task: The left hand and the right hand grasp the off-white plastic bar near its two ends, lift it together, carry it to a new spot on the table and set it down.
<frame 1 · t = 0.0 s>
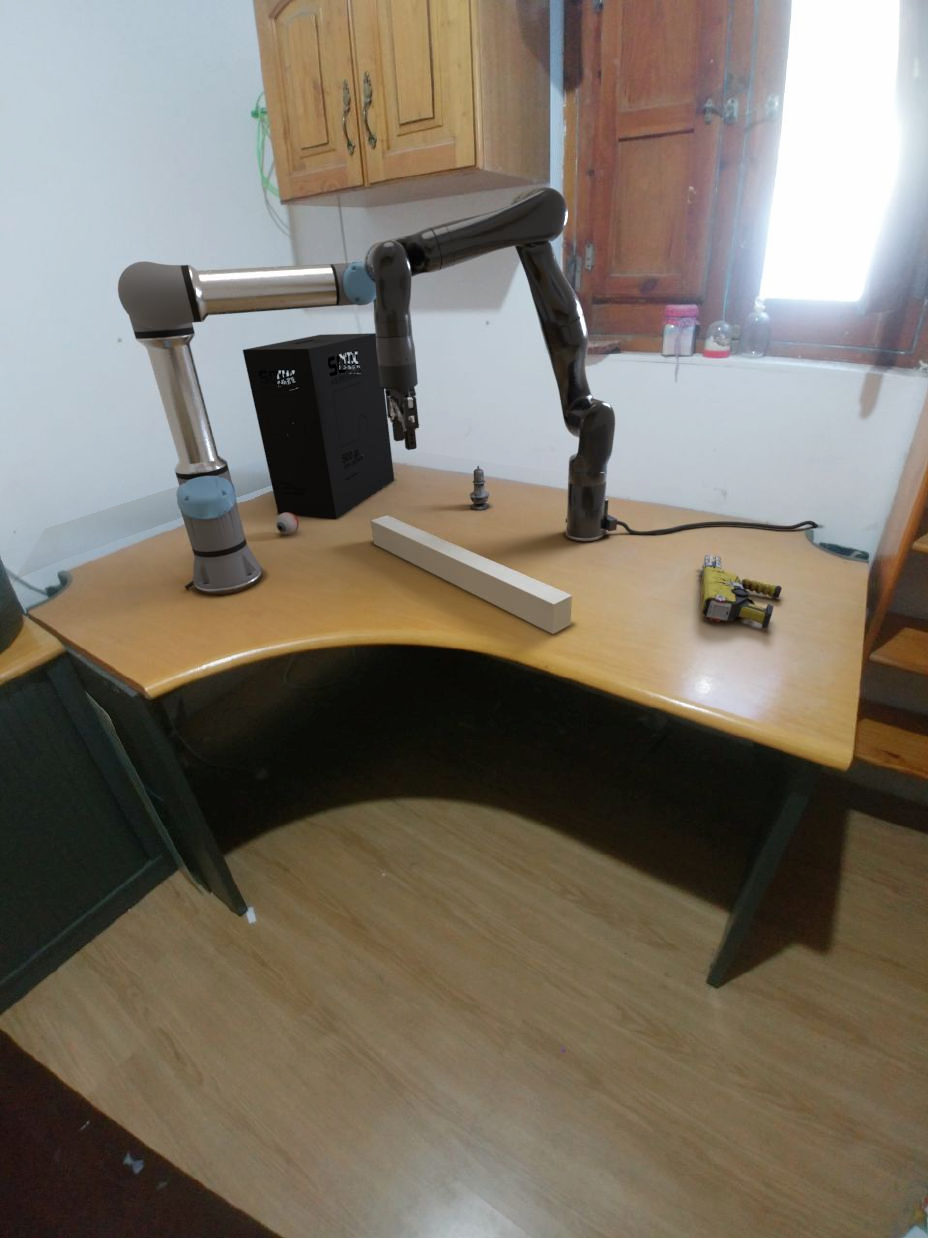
left hand: (401, 421, 153), 28 cm above the table, tool pointing down, fingers open, 13 cm apart
right hand: (405, 444, 126), 29 cm above the table, tool pointing down, fingers open, 8 cm apart
salt shaker: (479, 506, 177), on the table
bar: (457, 578, 136), on the table
cardboard box: (339, 496, 192), on the table
eyeball: (289, 534, 165), on the table
toy gun: (739, 600, 121), on the table
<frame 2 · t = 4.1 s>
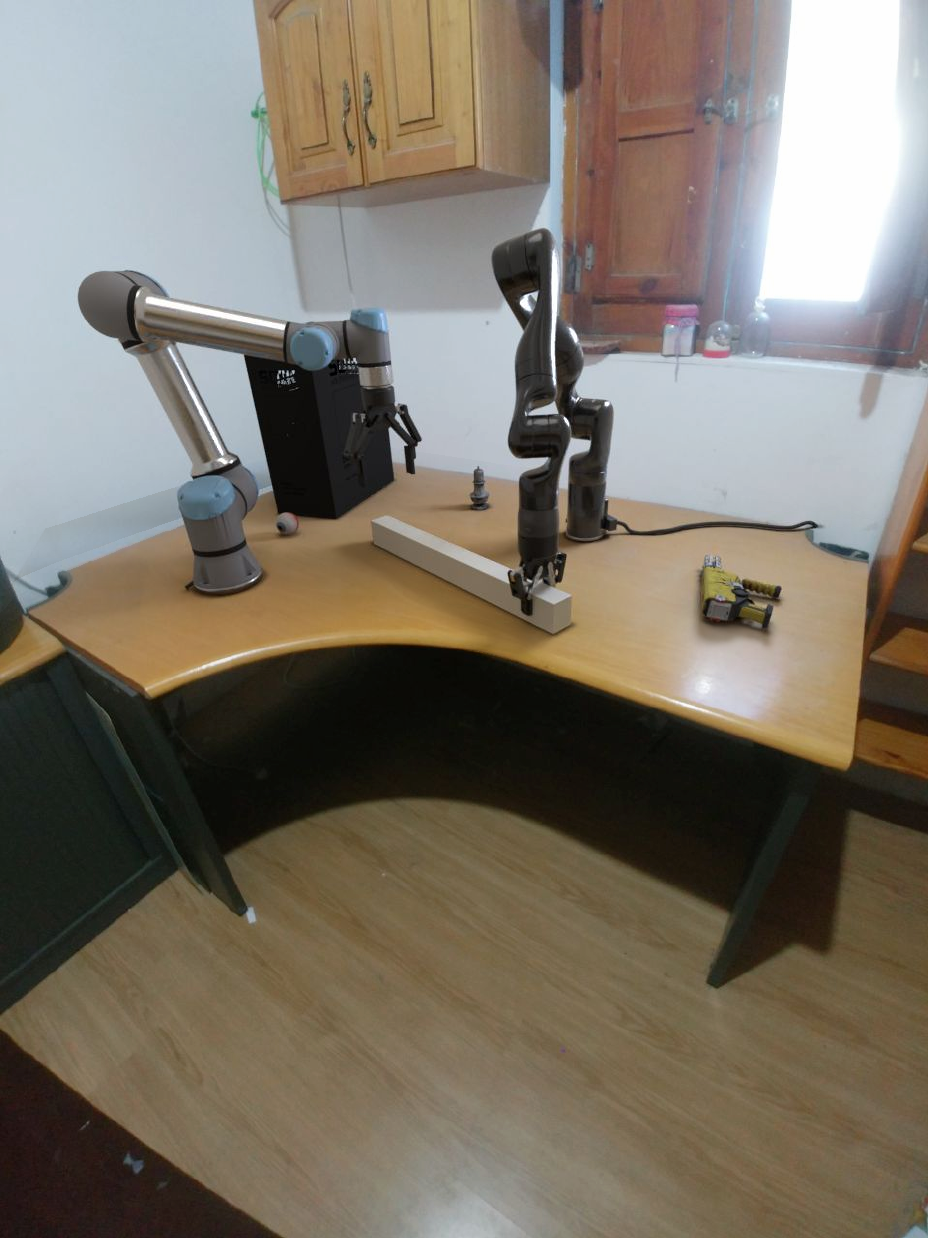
left hand: (387, 479, 144), 18 cm above the table, tool pointing down, fingers open, 13 cm apart
right hand: (537, 609, 118), 2 cm above the table, tool pointing down, fingers closed on bar, 5 cm apart
bar: (457, 578, 136), on the table, touching right hand
everything else where it was.
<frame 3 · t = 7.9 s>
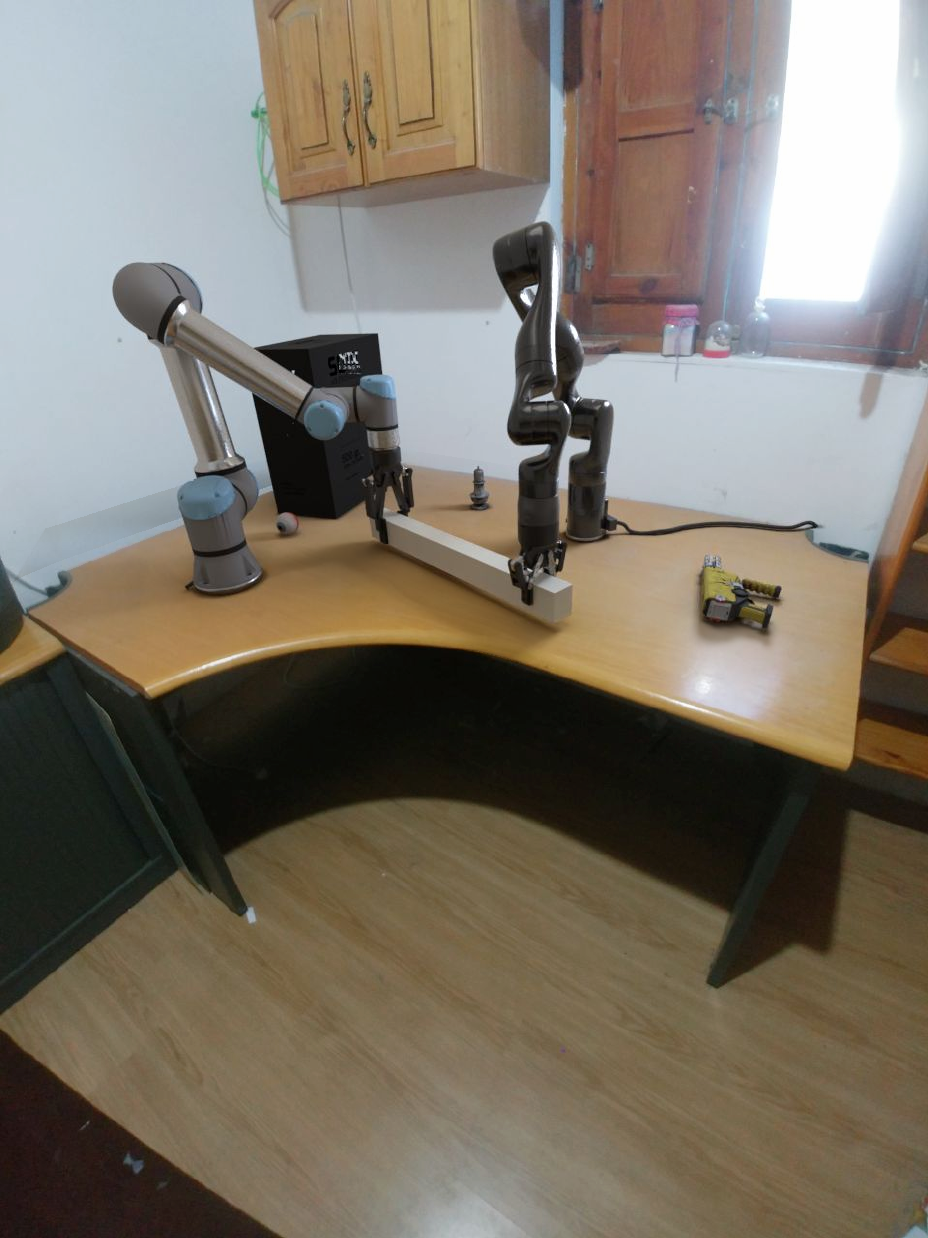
left hand: (393, 539, 152), 2 cm above the table, tool pointing down, fingers closed on bar, 5 cm apart
right hand: (537, 598, 117), 4 cm above the table, tool pointing down, fingers closed on bar, 5 cm apart
bar: (457, 569, 135), point 2 cm above the table, touching right hand, left hand
everything else where it was.
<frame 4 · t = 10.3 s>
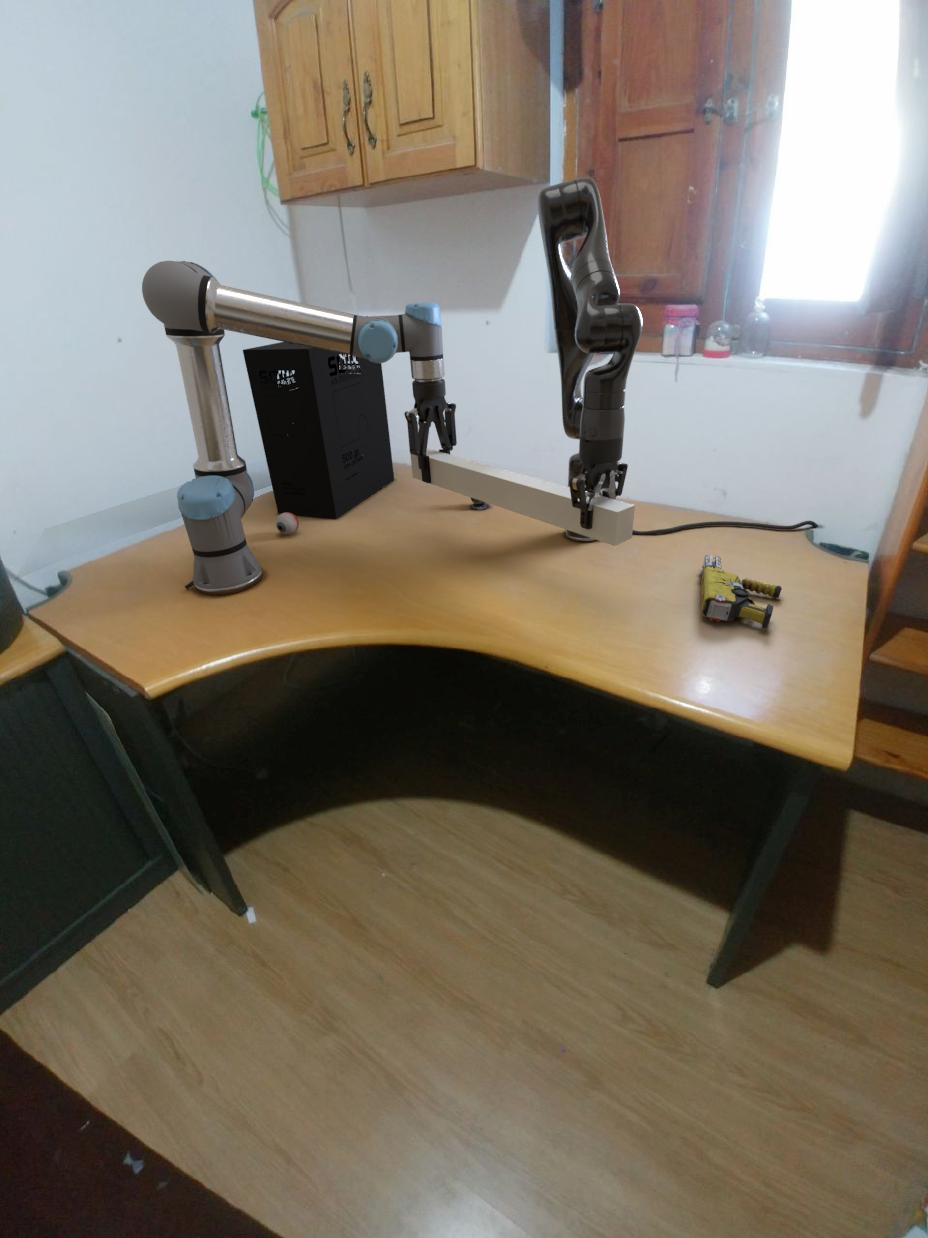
left hand: (436, 478, 149), 16 cm above the table, tool pointing down, fingers closed on bar, 5 cm apart
right hand: (596, 523, 114), 18 cm above the table, tool pointing down, fingers closed on bar, 5 cm apart
bar: (505, 503, 132), point 16 cm above the table, touching right hand, left hand
everything else where it was.
when the left hand's fingers open (2 cm above the table, at t = 13.1 s): bar drops 2 cm, on the table.
when the right hand's fingers open (4 cm above the table, at t = 13.3 s): bar drops 1 cm, on the table.
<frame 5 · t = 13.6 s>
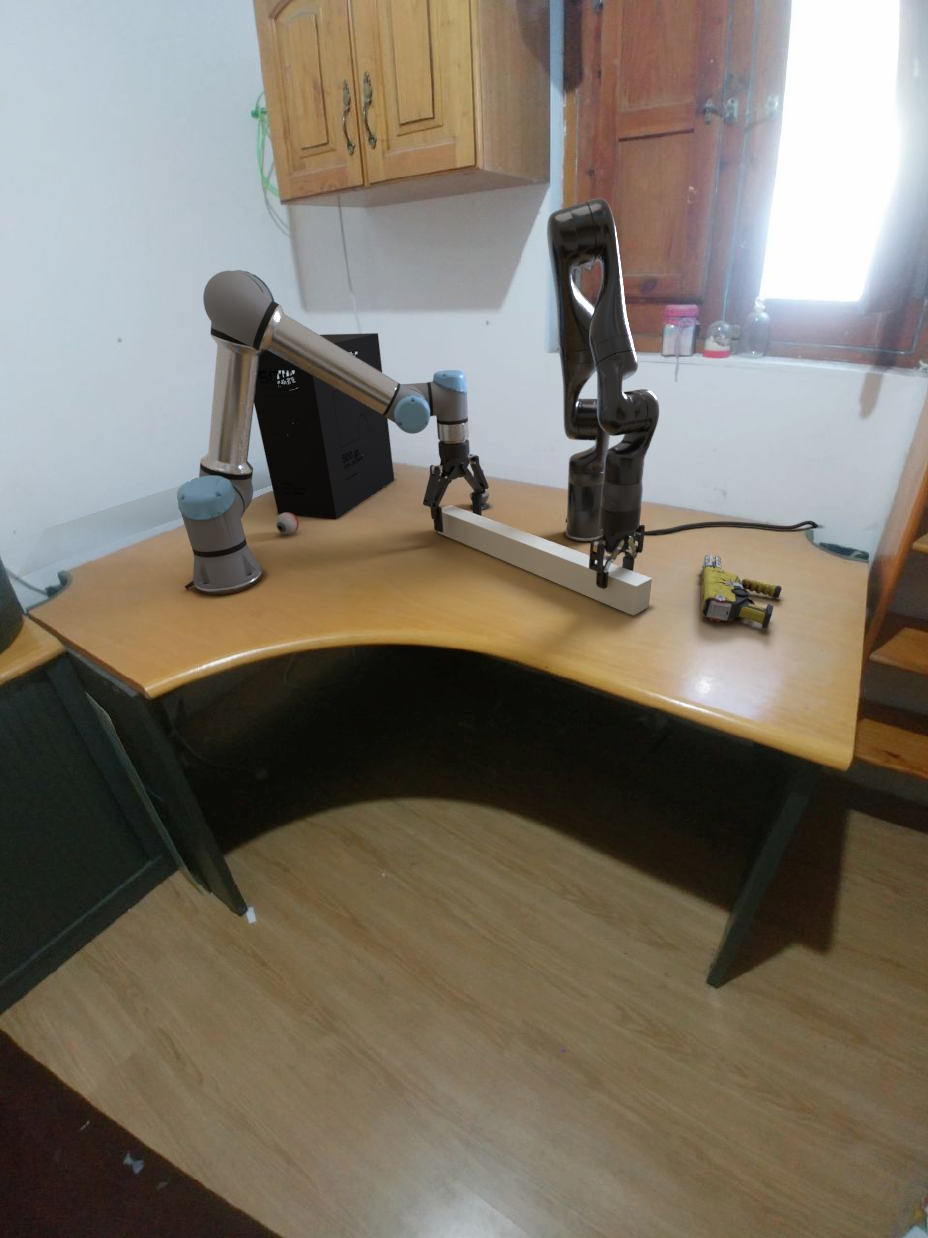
left hand: (458, 523, 156), 3 cm above the table, tool pointing down, fingers open, 12 cm apart
right hand: (614, 580, 122), 4 cm above the table, tool pointing down, fingers open, 7 cm apart
bar: (528, 564, 141), on the table
everything else where it was.
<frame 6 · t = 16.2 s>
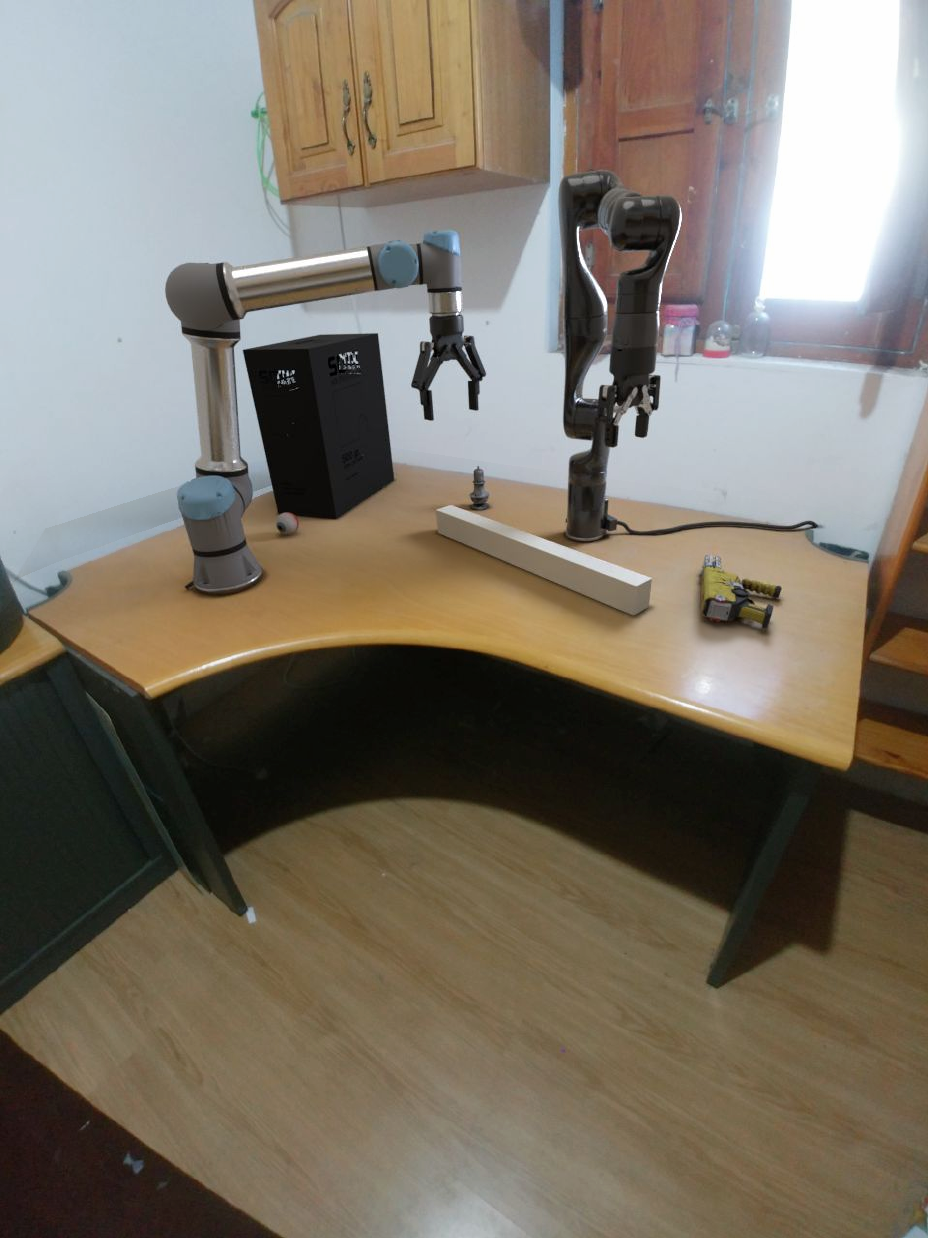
left hand: (452, 414, 142), 31 cm above the table, tool pointing down, fingers open, 13 cm apart
right hand: (626, 441, 108), 32 cm above the table, tool pointing down, fingers open, 8 cm apart
nothing on the table moved.
at the end: bar inside the target area (0.4 cm from its centre), on the table; bar tilted 0°; bar never tilted more than 2° during the clip; both hands held the bar at the same time; the left hand is holding nothing; the right hand is holding nothing; bar at rest at the end (0.0 cm/s) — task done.
